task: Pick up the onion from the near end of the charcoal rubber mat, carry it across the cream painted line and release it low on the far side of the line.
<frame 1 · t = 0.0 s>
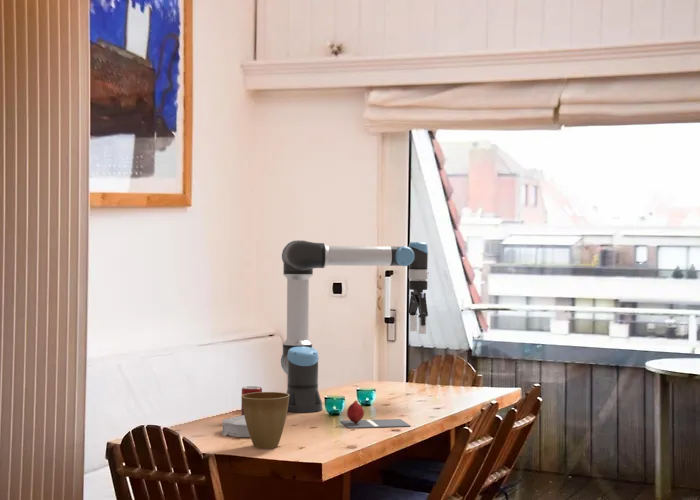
hand: (417, 332, 406), 28 cm above the table, fingers open, 13 cm apart
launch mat: (375, 424, 352), on the table
food container: (249, 434, 334), on the table
plant pot: (264, 447, 310), on the table
onion: (355, 424, 350), resting on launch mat
soda can: (251, 421, 356), on the table
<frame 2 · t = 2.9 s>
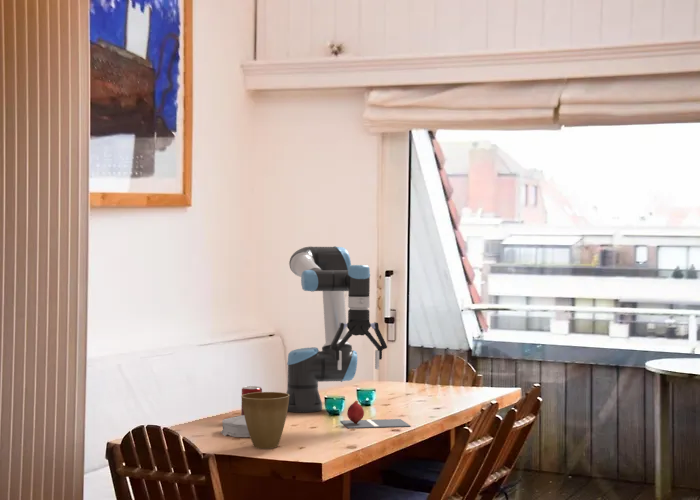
hand: (358, 369, 352), 19 cm above the table, fingers open, 13 cm apart
nothing on the table moved.
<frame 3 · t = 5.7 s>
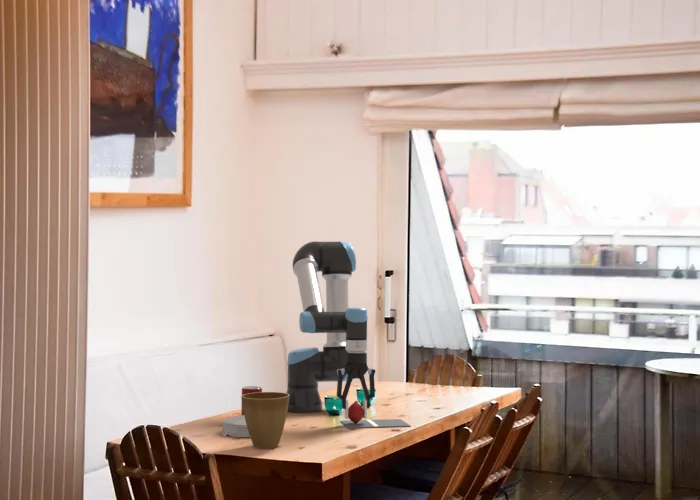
hand: (355, 417, 350), 2 cm above the table, fingers closed on onion, 6 cm apart
onion: (355, 424, 350), resting on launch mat, touching gripper
everything else where it was.
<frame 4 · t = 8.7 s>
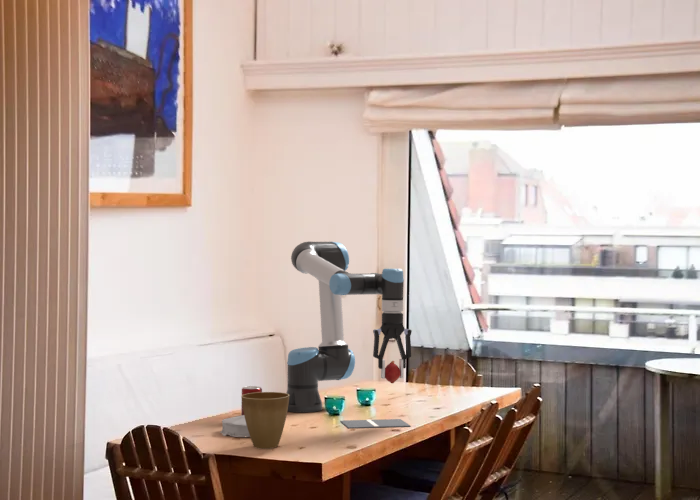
hand: (392, 377, 353), 16 cm above the table, fingers closed on onion, 6 cm apart
onion: (392, 384, 353), point 14 cm above the table, touching gripper
everything else where it was.
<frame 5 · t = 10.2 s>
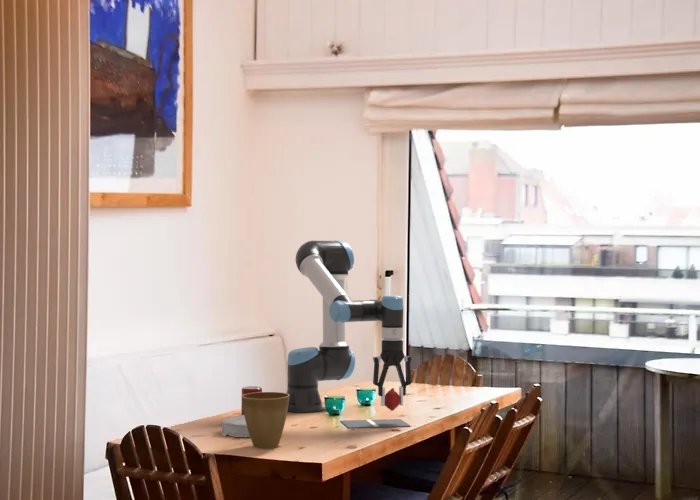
hand: (391, 405, 353), 7 cm above the table, fingers closed on onion, 6 cm apart
onion: (391, 411, 353), point 4 cm above the table, touching gripper
everything else where it was.
when the fingers open (4 cm above the table, at t = 11.5 s): onion drops 1 cm, resting on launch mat.
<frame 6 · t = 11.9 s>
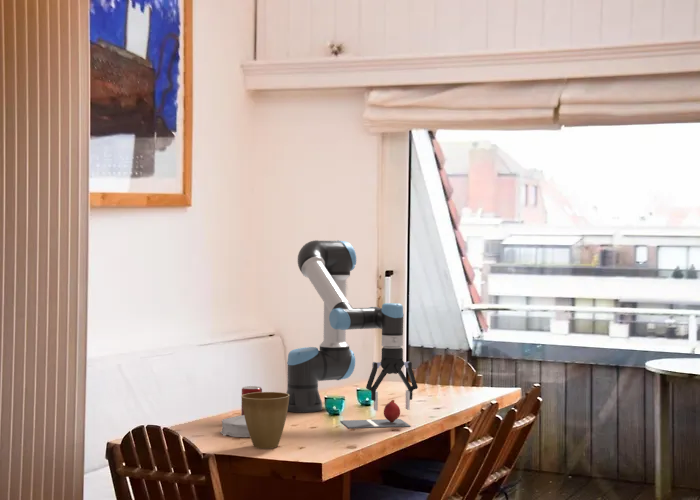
hand: (391, 409, 353), 5 cm above the table, fingers open, 11 cm apart
onion: (391, 423, 353), resting on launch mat
everything else where it was.
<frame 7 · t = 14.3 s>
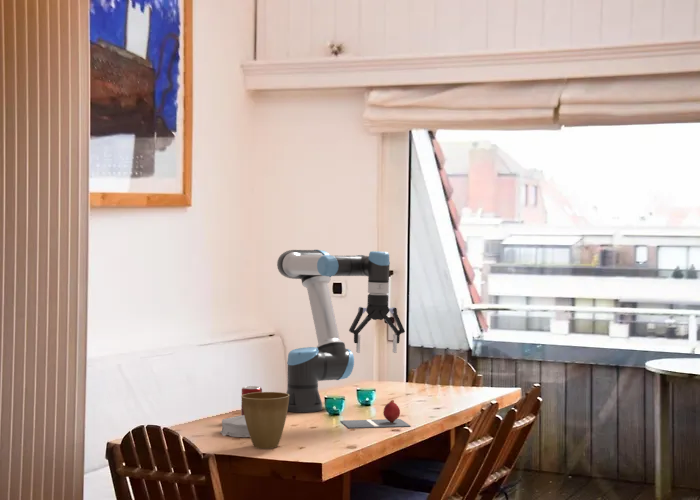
hand: (376, 352, 364), 24 cm above the table, fingers open, 13 cm apart
nothing on the table moved.
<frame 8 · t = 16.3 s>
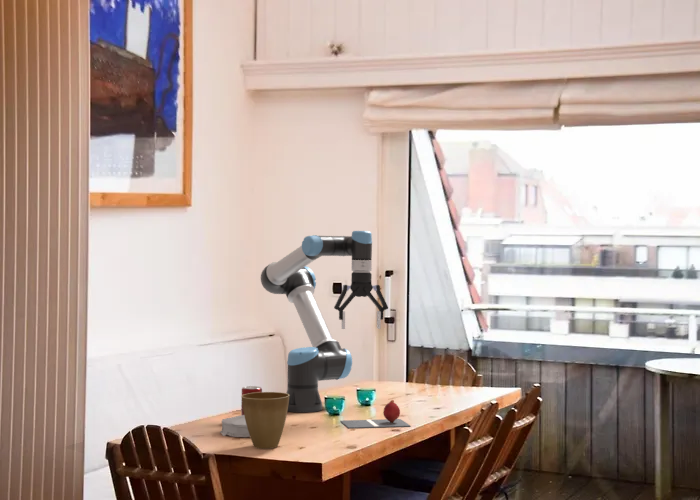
hand: (361, 328, 375), 32 cm above the table, fingers open, 13 cm apart
nothing on the table moved.
at the end: onion inside the target area (1.8 cm from its centre), resting on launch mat; the gripper is holding nothing; onion moved 13.0 cm from its start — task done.
